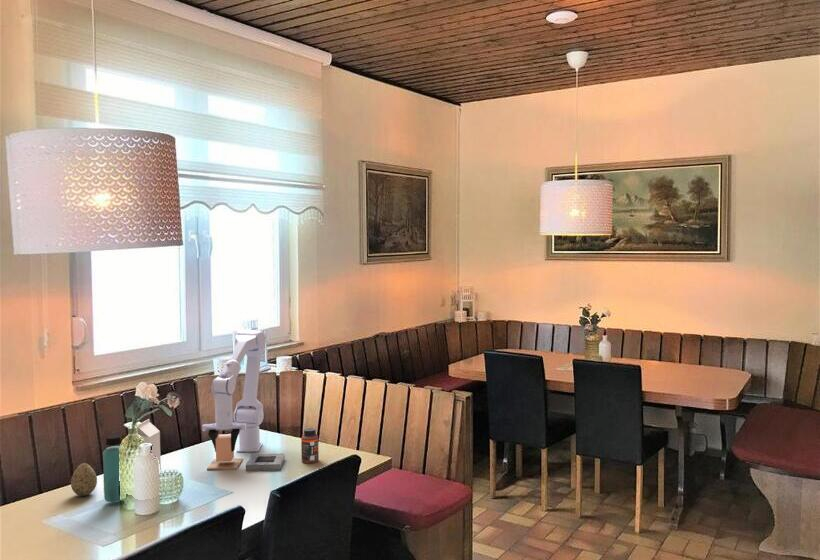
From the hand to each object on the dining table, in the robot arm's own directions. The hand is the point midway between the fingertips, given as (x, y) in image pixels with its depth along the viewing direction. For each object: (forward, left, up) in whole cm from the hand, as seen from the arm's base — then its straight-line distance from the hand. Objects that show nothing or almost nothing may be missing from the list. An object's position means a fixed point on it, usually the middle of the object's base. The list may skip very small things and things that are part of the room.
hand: (224, 450), depth 231 cm
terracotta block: (0, 0, -3) cm, 3 cm away
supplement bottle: (-2, +29, -5) cm, 30 cm away
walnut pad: (0, 0, -5) cm, 5 cm away
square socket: (+1, +14, -5) cm, 15 cm away
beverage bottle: (+32, -25, -5) cm, 41 cm away
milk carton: (+12, -23, -5) cm, 26 cm away
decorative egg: (+25, -37, -5) cm, 45 cm away
